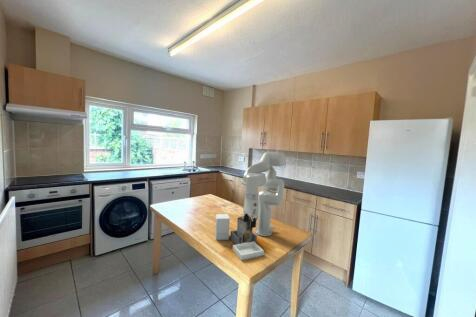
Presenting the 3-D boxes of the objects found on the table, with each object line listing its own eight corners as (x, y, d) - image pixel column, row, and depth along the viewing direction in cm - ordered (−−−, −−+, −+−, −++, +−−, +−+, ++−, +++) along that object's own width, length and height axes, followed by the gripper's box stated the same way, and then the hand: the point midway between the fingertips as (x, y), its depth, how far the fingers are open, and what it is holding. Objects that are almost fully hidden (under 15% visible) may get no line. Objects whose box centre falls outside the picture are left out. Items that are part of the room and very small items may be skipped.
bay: (247, 235, 142) (248, 228, 141) (256, 243, 131) (256, 235, 130) (230, 238, 136) (230, 231, 135) (237, 246, 125) (237, 239, 124)
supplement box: (227, 233, 142) (228, 213, 141) (228, 239, 133) (230, 218, 132) (214, 234, 140) (215, 213, 139) (215, 240, 131) (216, 218, 130)
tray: (253, 245, 127) (254, 241, 127) (263, 255, 116) (264, 250, 116) (232, 249, 121) (232, 245, 120) (241, 260, 110) (241, 255, 110)
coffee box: (245, 237, 139) (246, 214, 138) (252, 240, 134) (253, 217, 133) (235, 240, 133) (237, 217, 132) (242, 244, 128) (243, 220, 127)
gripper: (264, 199, 110) (262, 229, 111) (249, 192, 125) (248, 218, 126) (253, 200, 107) (251, 231, 108) (239, 192, 122) (237, 220, 123)
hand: (249, 224), depth 117 cm, fingers open, 8 cm apart
